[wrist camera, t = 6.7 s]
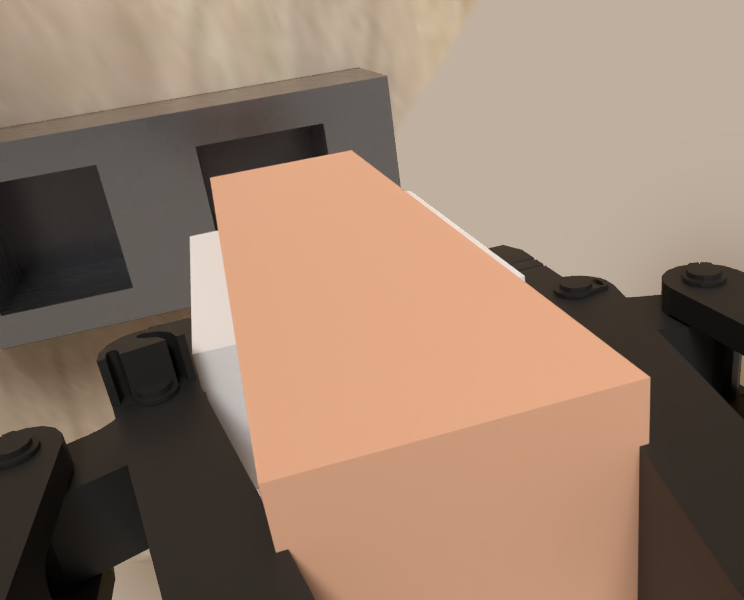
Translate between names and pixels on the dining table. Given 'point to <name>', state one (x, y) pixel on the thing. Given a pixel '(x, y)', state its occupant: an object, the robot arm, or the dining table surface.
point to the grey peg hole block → (154, 192)
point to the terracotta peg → (422, 400)
